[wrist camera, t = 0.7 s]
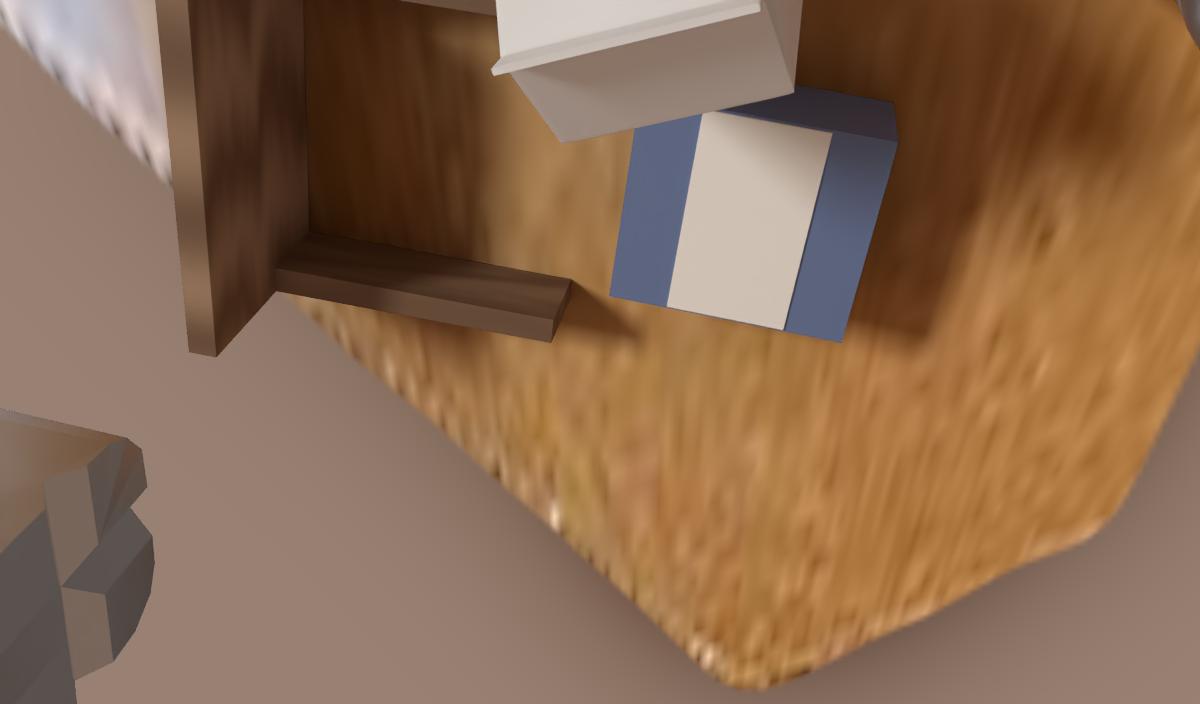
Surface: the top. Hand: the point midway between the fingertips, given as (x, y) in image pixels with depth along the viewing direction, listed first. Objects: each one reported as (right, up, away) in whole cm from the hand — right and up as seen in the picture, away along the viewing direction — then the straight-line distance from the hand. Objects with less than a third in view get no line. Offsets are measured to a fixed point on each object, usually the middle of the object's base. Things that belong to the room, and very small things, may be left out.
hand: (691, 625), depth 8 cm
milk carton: (+3, +19, +37) cm, 42 cm away
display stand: (-8, +12, +43) cm, 46 cm away
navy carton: (+6, +10, +42) cm, 44 cm away
